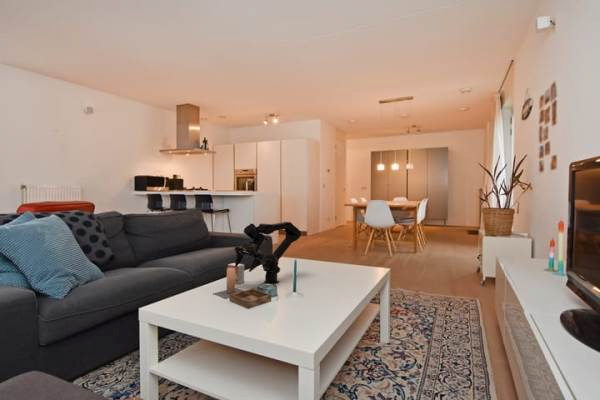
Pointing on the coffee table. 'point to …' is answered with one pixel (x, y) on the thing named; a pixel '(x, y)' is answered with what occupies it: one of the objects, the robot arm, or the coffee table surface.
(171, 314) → the coffee table surface
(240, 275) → the small box
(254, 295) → the crate
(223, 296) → the mat
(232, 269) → the tan cylinder
